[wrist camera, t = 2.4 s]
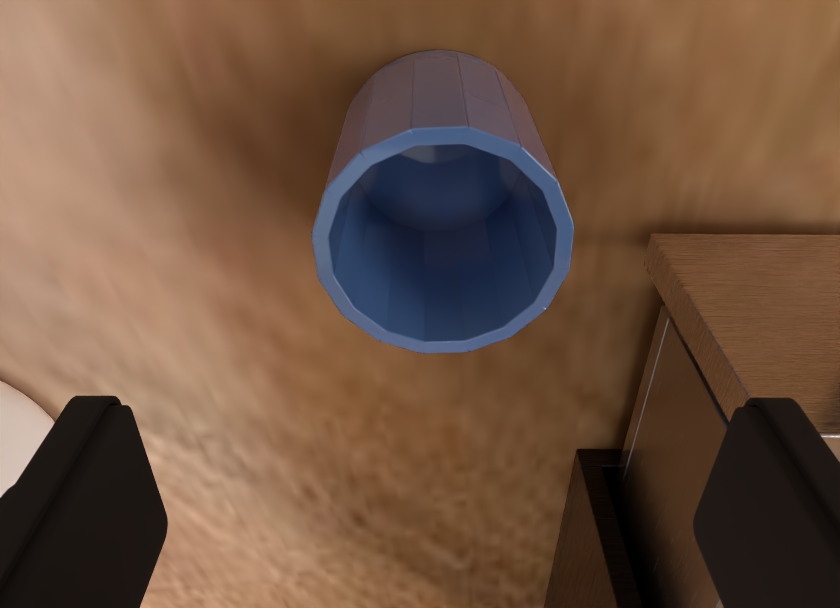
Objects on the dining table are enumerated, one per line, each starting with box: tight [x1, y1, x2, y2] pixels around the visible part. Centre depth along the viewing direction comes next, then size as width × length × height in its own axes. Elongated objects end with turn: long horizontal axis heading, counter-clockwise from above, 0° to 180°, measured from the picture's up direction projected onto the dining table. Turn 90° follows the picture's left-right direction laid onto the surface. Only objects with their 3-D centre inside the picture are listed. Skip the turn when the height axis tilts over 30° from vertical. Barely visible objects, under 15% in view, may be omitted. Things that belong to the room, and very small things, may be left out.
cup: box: [311, 50, 574, 354], centre depth 18 cm, size 6×6×6 cm
